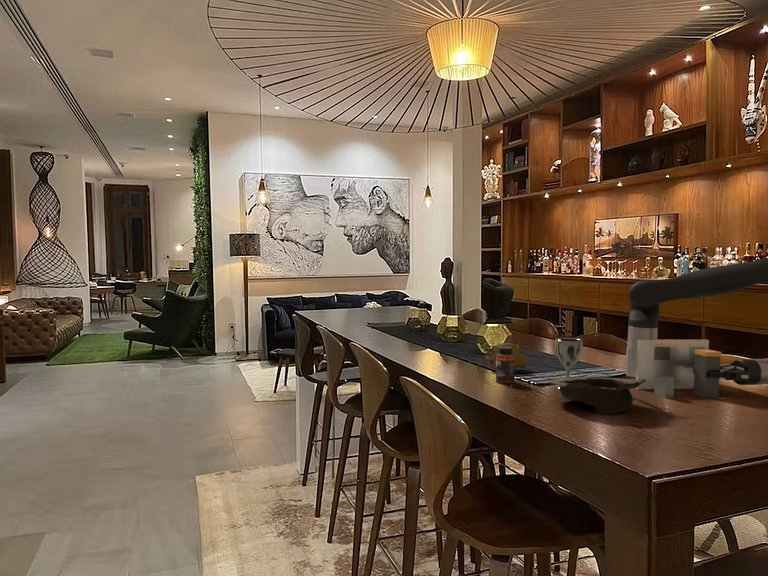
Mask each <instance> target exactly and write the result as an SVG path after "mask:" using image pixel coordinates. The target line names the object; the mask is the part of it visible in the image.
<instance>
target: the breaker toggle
mask: <svg viewBox="0 0 768 576" xmlns="http://www.w3.org/2000/svg"><path fill="white" fill-rule="evenodd" d="M721 357H722V351H717V350H713V349H709V350H695V371H694V388H693V392H692V394H693V395H696V396H699V397H700V398H719V393H720V392H719V390H720V389H719V388H720V379H719V377H718V378H706V377H705V371H706V370H720V365H721ZM718 392H719V393H718Z"/></svg>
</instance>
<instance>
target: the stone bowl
mask: <svg viewBox="0 0 768 576" xmlns="http://www.w3.org/2000/svg"><path fill="white" fill-rule="evenodd" d="M645 381H646V379H642V380H637V381H636V380H634V379H630V378H629V379H627V378H626V379H624V378H618V377H617V378H616V377H605V376H604V377H603V376H602V377H599V376H580V377H577V376H575V377H569V378H566V377H560V378H554V379H548V380H547V382H548V383H551V384H553V385H556V386H557V385H560V389H559V393H560V394H561V396H562V397H563V398H564V399H566V400H570V401H574V402H577V403H584V404H585V405H589V406H592V408H593V412H594V413H595V414H597V415H612V414H618V413H621V412H627V411H629V410H630V409H631V405H632V404H633V402H634V397H633V394H632V392H631V389H636V388H637V387H638V386H639V385H641V384H642V383H644V382H645Z"/></svg>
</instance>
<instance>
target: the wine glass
mask: <svg viewBox="0 0 768 576" xmlns="http://www.w3.org/2000/svg"><path fill="white" fill-rule="evenodd" d="M554 341H555V347H554V348H555V353H556V357H557V358H558V360H559V361H560V363H561V364H562V366H563V367H564V370H565V378H570V372H571V369H572V367H573V366H574V365H575V364H576V363H577V362H578V361H579V360H580V358H581V355H582V351H583V339H579V338H572V337H556V338H555V340H554ZM554 386H555V389H558V390H560V385H557V384H556V385H554Z"/></svg>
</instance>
